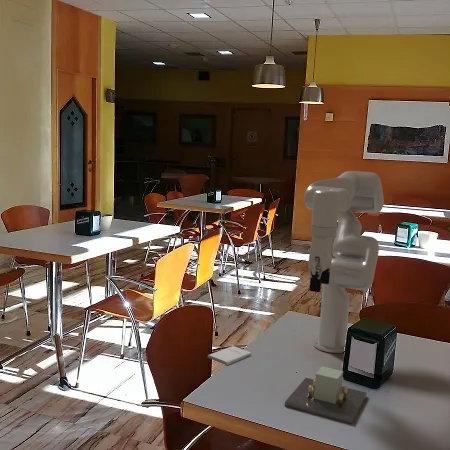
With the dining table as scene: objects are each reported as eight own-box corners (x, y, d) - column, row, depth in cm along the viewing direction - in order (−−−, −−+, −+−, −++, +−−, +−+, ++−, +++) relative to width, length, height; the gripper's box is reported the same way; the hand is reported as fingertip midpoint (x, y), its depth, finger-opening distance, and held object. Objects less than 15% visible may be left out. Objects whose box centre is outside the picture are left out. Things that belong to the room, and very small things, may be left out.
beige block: (319, 389, 152) (321, 366, 151) (340, 395, 149) (343, 371, 148) (313, 398, 147) (315, 373, 146) (335, 403, 144) (337, 379, 143)
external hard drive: (207, 359, 174) (232, 349, 183) (226, 367, 168) (251, 356, 178) (207, 354, 173) (232, 345, 183) (227, 362, 168) (251, 352, 178)
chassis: (305, 381, 160) (306, 368, 159) (366, 396, 152) (367, 382, 151) (284, 405, 144) (285, 390, 143) (351, 424, 136) (353, 408, 135)
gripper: (319, 226, 169) (315, 278, 171) (302, 234, 153) (298, 292, 156) (342, 228, 165) (338, 282, 168) (328, 237, 150) (324, 296, 153)
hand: (319, 287), depth 162 cm, fingers open, 9 cm apart
